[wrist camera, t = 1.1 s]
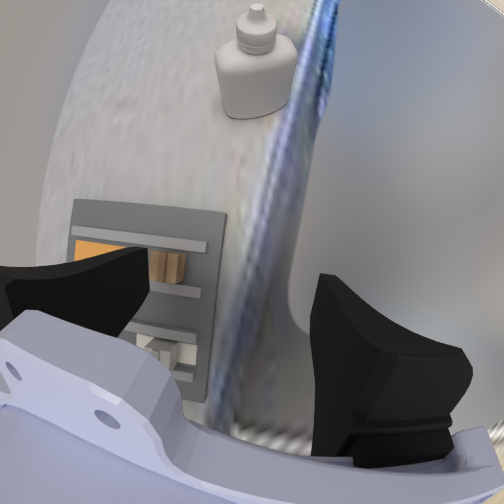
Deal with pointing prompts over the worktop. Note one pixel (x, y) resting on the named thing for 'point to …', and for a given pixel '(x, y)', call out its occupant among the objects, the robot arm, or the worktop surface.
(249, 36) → the eye dropper bottle
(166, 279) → the oak tab
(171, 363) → the grooved grey cube
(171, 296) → the switch board
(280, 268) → the worktop surface
